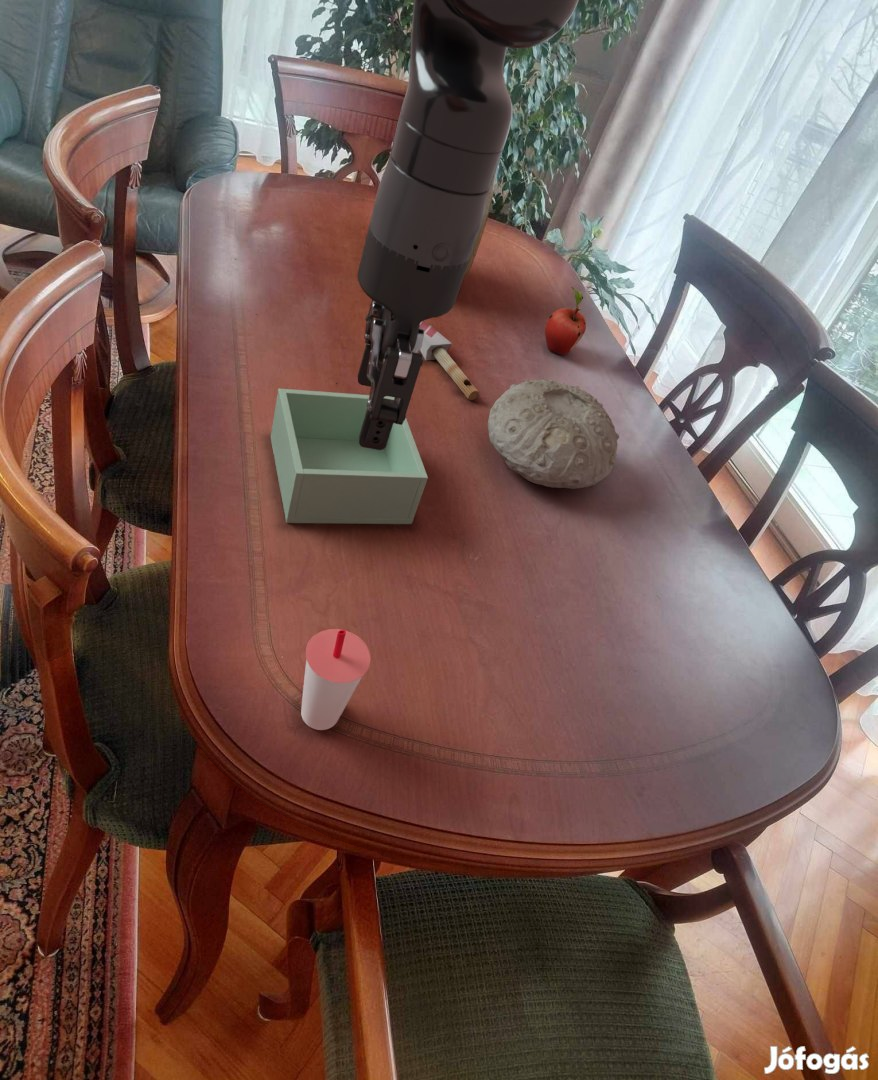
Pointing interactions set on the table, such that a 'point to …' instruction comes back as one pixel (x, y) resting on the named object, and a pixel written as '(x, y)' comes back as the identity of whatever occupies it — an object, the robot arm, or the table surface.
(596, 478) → the decorative shell
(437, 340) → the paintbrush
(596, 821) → the table surface
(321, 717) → the cup
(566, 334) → the apple
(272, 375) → the table surface
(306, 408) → the bin
